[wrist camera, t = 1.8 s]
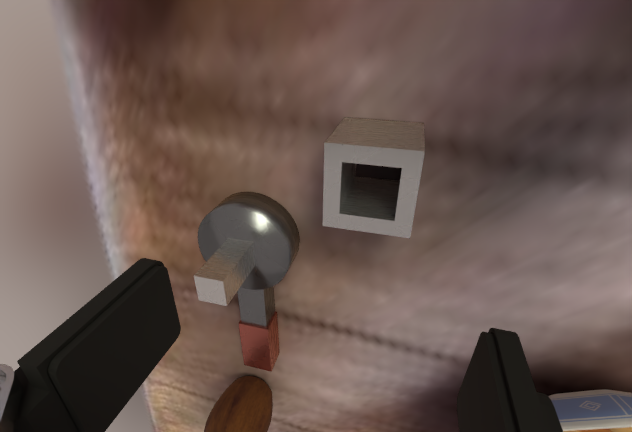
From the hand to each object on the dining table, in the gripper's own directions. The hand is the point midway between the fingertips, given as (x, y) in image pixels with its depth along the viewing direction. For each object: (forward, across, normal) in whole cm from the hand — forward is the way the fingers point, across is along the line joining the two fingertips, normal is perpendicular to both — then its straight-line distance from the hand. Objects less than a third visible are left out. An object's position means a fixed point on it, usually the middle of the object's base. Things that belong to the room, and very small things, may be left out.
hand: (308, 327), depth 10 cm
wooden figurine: (+17, +11, +30) cm, 36 cm away
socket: (+16, 0, 0) cm, 17 cm away
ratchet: (+17, +9, +14) cm, 24 cm away
